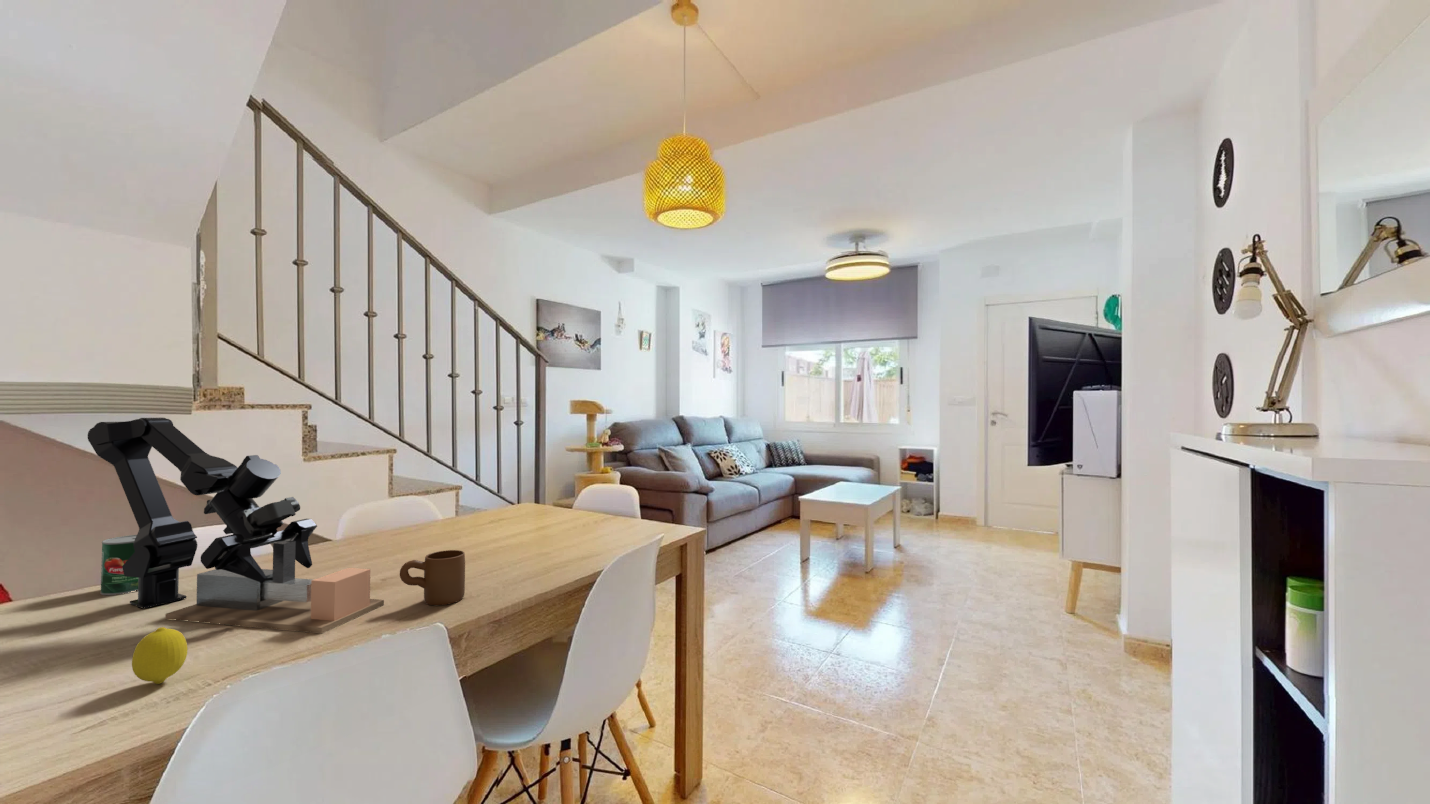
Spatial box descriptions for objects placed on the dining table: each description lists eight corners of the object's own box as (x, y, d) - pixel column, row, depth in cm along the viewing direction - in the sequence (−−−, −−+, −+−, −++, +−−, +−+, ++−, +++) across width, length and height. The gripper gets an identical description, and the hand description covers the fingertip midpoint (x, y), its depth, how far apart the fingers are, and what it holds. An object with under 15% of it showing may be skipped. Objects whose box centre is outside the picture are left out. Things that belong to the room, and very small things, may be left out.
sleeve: (196, 605, 104) (197, 574, 104) (225, 596, 109) (225, 566, 109) (256, 610, 102) (257, 578, 102) (283, 601, 107) (283, 570, 107)
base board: (165, 619, 100) (165, 613, 100) (243, 593, 114) (243, 589, 114) (321, 633, 94) (321, 627, 94) (383, 604, 108) (384, 599, 108)
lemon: (157, 674, 79) (158, 620, 79) (197, 673, 80) (198, 619, 80) (118, 694, 74) (120, 636, 74) (162, 693, 74) (163, 635, 74)
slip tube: (206, 594, 105) (207, 540, 105) (224, 589, 108) (225, 536, 108) (306, 602, 101) (307, 546, 101) (321, 596, 104) (322, 542, 104)
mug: (401, 614, 103) (402, 565, 103) (396, 603, 109) (397, 556, 109) (468, 601, 110) (469, 555, 110) (460, 591, 116) (460, 547, 116)
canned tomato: (111, 597, 111) (113, 544, 111) (92, 592, 114) (93, 540, 114) (162, 585, 118) (163, 536, 119) (142, 581, 121) (143, 532, 121)
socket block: (310, 618, 98) (311, 580, 98) (347, 603, 106) (348, 567, 106) (334, 620, 97) (334, 582, 97) (369, 605, 105) (370, 569, 105)
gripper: (214, 493, 96) (265, 558, 93) (310, 480, 114) (354, 534, 112) (177, 536, 97) (227, 601, 95) (278, 515, 115) (321, 570, 113)
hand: (288, 573), depth 104 cm, fingers open, 9 cm apart
